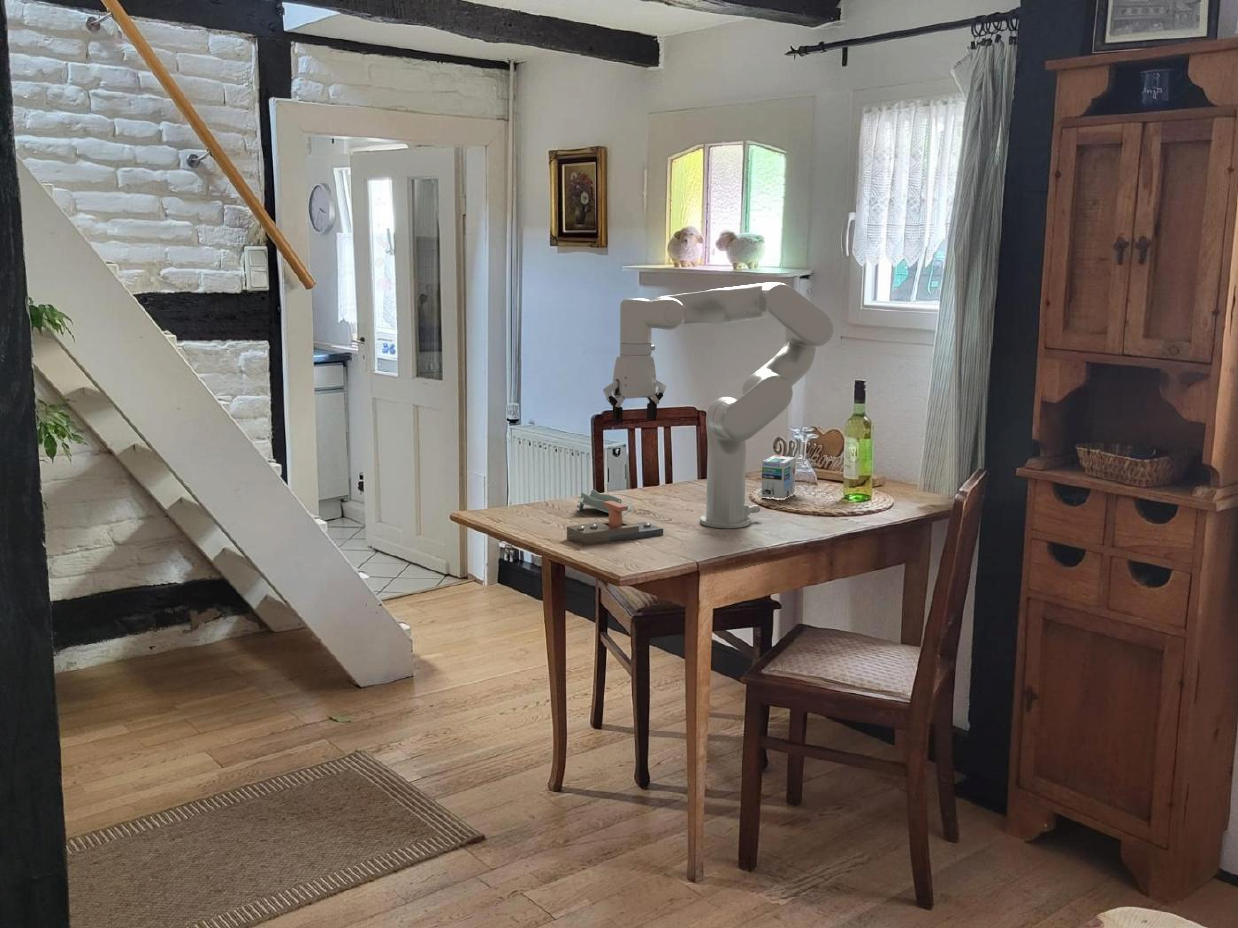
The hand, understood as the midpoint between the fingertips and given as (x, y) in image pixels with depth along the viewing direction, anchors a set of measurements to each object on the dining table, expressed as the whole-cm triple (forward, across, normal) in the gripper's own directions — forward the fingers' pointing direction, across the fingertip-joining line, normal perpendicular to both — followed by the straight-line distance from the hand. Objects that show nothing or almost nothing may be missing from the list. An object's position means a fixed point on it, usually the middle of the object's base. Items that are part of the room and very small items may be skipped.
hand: (634, 421), depth 274 cm
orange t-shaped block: (+26, +9, +6) cm, 28 cm away
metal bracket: (+27, -3, -18) cm, 33 cm away
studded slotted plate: (+26, +9, +6) cm, 28 cm away
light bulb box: (+27, -54, -10) cm, 61 cm away
